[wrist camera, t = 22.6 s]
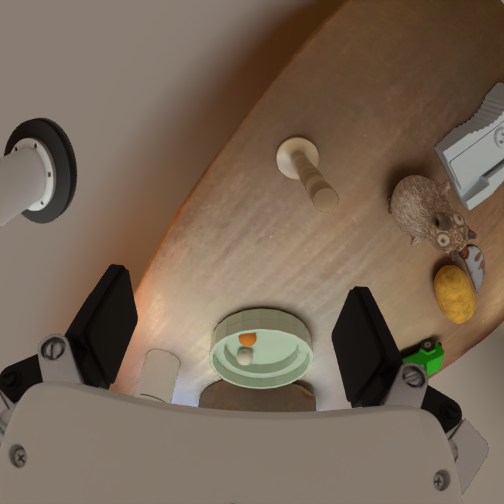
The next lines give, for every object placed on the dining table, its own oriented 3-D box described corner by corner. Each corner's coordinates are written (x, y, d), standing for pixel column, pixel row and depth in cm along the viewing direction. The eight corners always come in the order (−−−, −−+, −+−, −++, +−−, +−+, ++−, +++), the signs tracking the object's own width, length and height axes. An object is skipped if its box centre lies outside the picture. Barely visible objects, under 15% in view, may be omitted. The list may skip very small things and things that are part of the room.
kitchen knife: (491, 280, 39) (477, 297, 40) (486, 276, 40) (472, 292, 42) (470, 212, 31) (453, 234, 32) (464, 208, 33) (446, 230, 34)
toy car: (433, 353, 50) (448, 385, 42) (369, 379, 54) (379, 414, 46) (437, 332, 47) (454, 367, 38) (367, 361, 50) (378, 400, 42)
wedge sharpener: (519, 137, 24) (546, 148, 18) (460, 204, 32) (487, 223, 26) (497, 82, 21) (527, 86, 15) (433, 148, 28) (463, 161, 22)
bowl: (212, 363, 51) (209, 384, 46) (213, 300, 42) (209, 323, 38) (297, 370, 51) (299, 390, 47) (320, 310, 43) (326, 332, 38)
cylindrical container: (140, 352, 50) (106, 459, 29) (165, 346, 49) (134, 464, 27) (161, 371, 54) (136, 472, 32) (186, 367, 52) (165, 477, 30)
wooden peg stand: (269, 145, 30) (278, 178, 17) (309, 131, 29) (350, 154, 16) (284, 182, 32) (302, 242, 19) (322, 169, 31) (366, 220, 18)
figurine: (399, 146, 29) (475, 182, 16) (442, 186, 31) (510, 235, 18) (363, 201, 33) (417, 265, 20) (408, 234, 35) (462, 299, 22)
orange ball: (258, 330, 42) (253, 348, 41) (259, 332, 45) (254, 348, 44) (240, 325, 42) (235, 343, 41) (242, 327, 45) (237, 343, 44)
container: (317, 368, 51) (325, 434, 38) (310, 417, 65) (312, 463, 52) (185, 371, 53) (172, 432, 41) (213, 418, 68) (208, 463, 55)
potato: (440, 312, 44) (455, 337, 37) (419, 272, 39) (438, 300, 32) (466, 291, 41) (483, 314, 35) (449, 246, 36) (472, 270, 30)
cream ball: (231, 359, 47) (240, 370, 44) (234, 347, 46) (243, 357, 44) (245, 356, 48) (254, 366, 46) (249, 344, 48) (257, 354, 45)
